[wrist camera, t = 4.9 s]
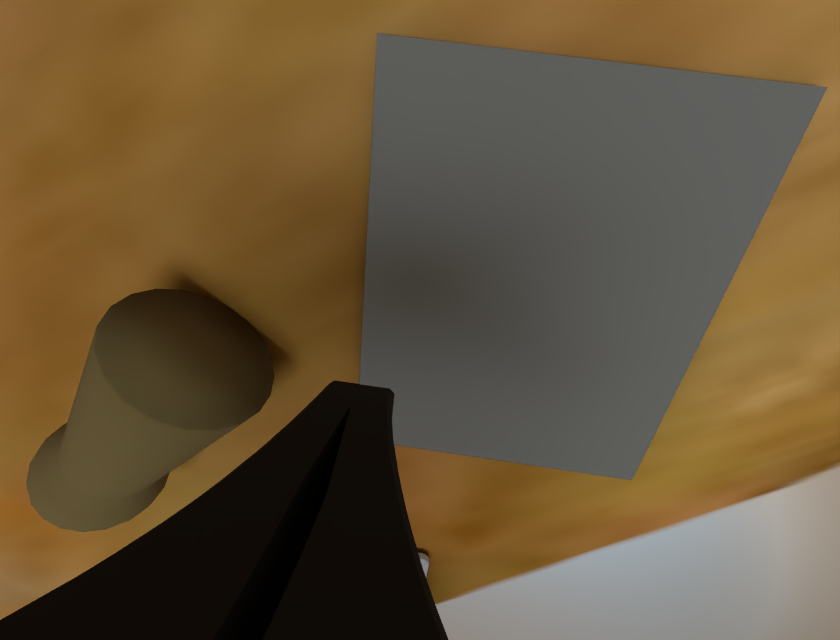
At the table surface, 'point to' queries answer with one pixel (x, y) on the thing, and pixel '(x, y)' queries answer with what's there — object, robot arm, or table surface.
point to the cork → (148, 406)
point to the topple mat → (555, 242)
